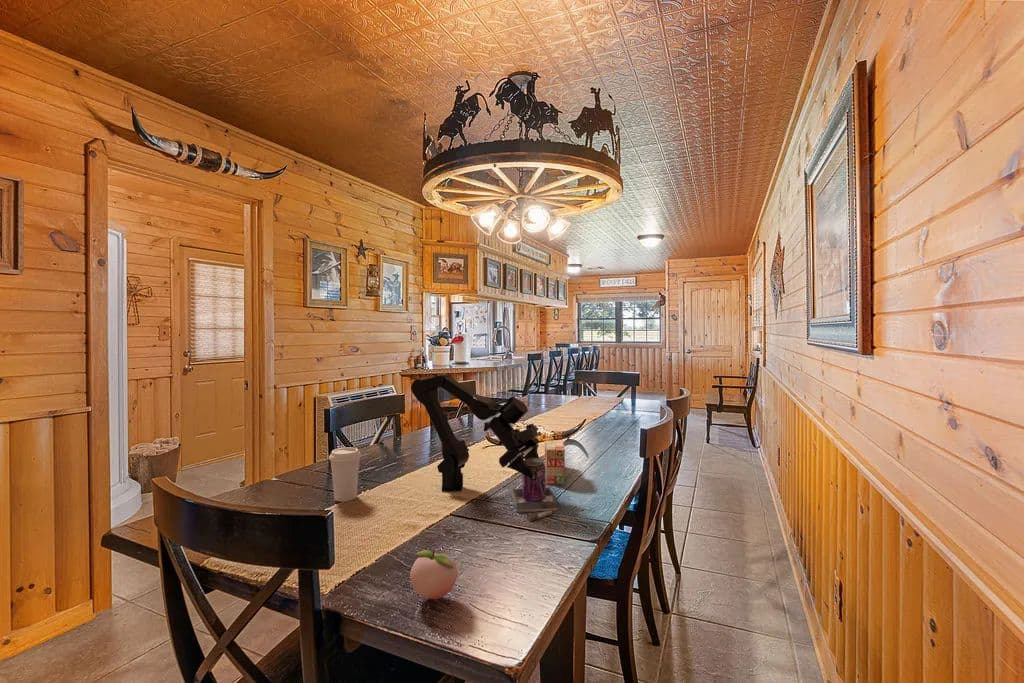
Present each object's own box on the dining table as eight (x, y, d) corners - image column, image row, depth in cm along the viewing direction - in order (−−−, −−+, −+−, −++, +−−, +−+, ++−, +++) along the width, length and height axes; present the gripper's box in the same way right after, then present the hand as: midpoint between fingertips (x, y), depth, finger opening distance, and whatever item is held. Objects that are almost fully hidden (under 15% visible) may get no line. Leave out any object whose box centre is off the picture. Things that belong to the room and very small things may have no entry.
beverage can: (539, 506, 140) (538, 467, 139) (518, 501, 144) (517, 463, 142) (549, 496, 146) (549, 459, 145) (529, 492, 150) (528, 455, 148)
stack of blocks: (544, 466, 183) (544, 434, 182) (560, 466, 182) (560, 434, 182) (546, 484, 161) (546, 448, 161) (564, 484, 161) (564, 449, 160)
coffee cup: (367, 497, 148) (366, 450, 148) (338, 506, 141) (337, 456, 141) (352, 490, 155) (351, 445, 154) (323, 498, 148) (323, 450, 147)
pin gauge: (531, 522, 130) (531, 515, 130) (526, 520, 131) (526, 513, 131) (553, 515, 134) (553, 508, 134) (548, 513, 136) (548, 506, 136)
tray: (516, 511, 137) (516, 503, 137) (511, 496, 149) (511, 489, 149) (557, 510, 138) (557, 501, 138) (549, 495, 151) (549, 487, 150)
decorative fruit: (400, 606, 91) (400, 555, 90) (423, 584, 98) (423, 537, 98) (443, 617, 87) (443, 564, 87) (463, 594, 95) (463, 545, 95)
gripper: (508, 422, 136) (543, 465, 132) (534, 411, 153) (566, 449, 149) (484, 446, 140) (517, 488, 136) (512, 433, 157) (542, 470, 152)
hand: (537, 473), depth 143 cm, fingers open, 7 cm apart
